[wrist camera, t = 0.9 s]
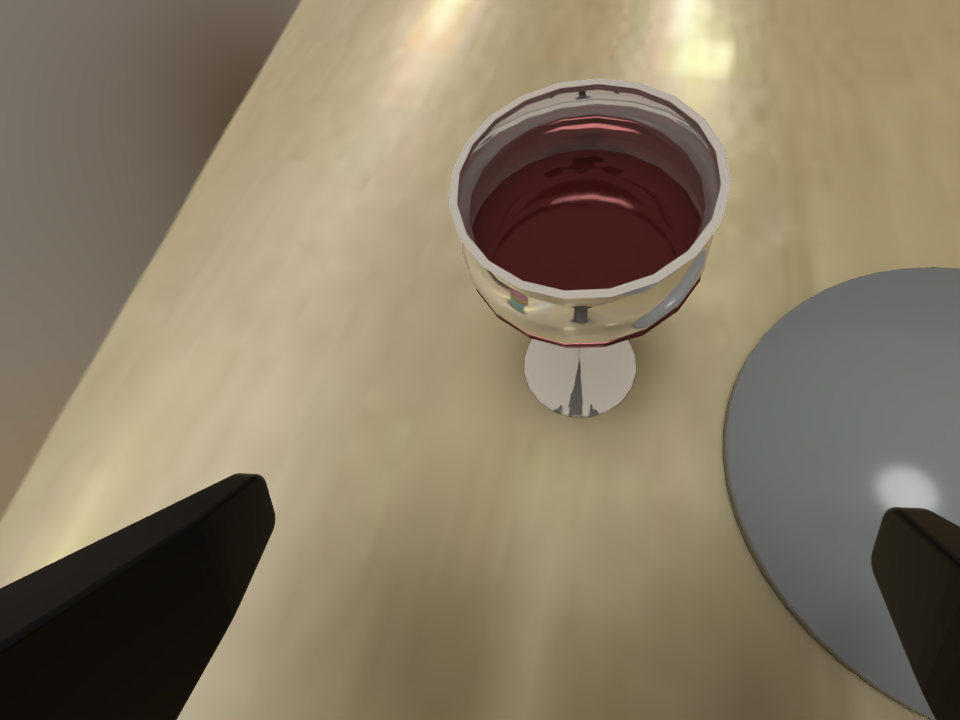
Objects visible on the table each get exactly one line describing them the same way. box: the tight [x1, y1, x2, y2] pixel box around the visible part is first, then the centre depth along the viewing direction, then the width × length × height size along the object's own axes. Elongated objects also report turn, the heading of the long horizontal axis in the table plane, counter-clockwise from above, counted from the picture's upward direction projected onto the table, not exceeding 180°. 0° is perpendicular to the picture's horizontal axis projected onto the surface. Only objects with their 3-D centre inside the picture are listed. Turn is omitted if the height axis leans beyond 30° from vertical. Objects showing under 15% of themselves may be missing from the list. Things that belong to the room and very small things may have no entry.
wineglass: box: [449, 78, 731, 417], centre depth 18 cm, size 7×7×12 cm
